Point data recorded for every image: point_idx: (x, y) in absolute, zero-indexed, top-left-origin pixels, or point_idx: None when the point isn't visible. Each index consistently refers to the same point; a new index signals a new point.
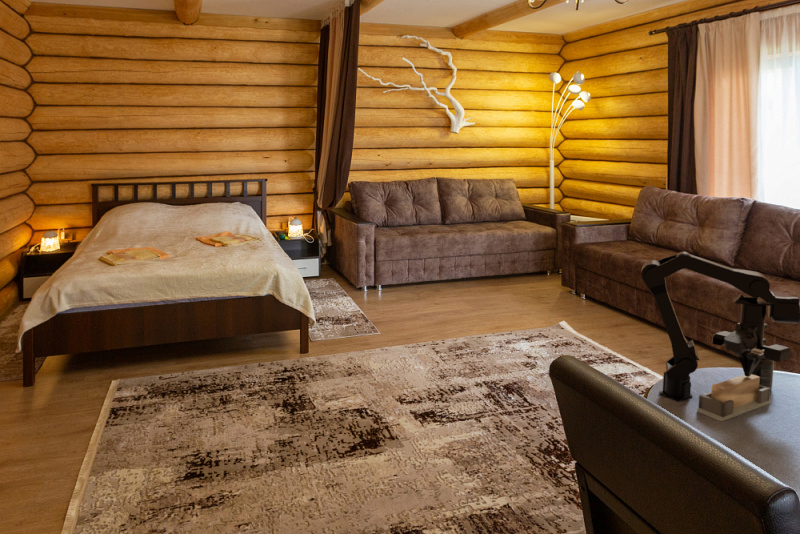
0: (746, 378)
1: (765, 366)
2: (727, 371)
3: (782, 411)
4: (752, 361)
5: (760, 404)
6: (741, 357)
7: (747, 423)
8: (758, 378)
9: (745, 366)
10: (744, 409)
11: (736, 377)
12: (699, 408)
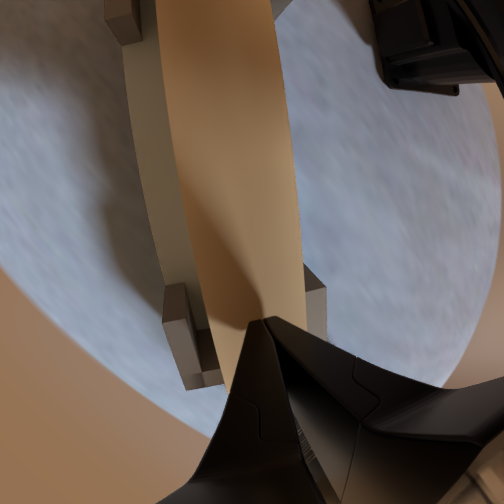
0: (243, 297)
1: (315, 475)
2: (429, 382)
3: (102, 325)
4: (212, 459)
5: (165, 283)
6: (404, 409)
7: (51, 73)
8: (225, 383)
9: (299, 363)
10: (134, 144)
11: (299, 234)
12: None
